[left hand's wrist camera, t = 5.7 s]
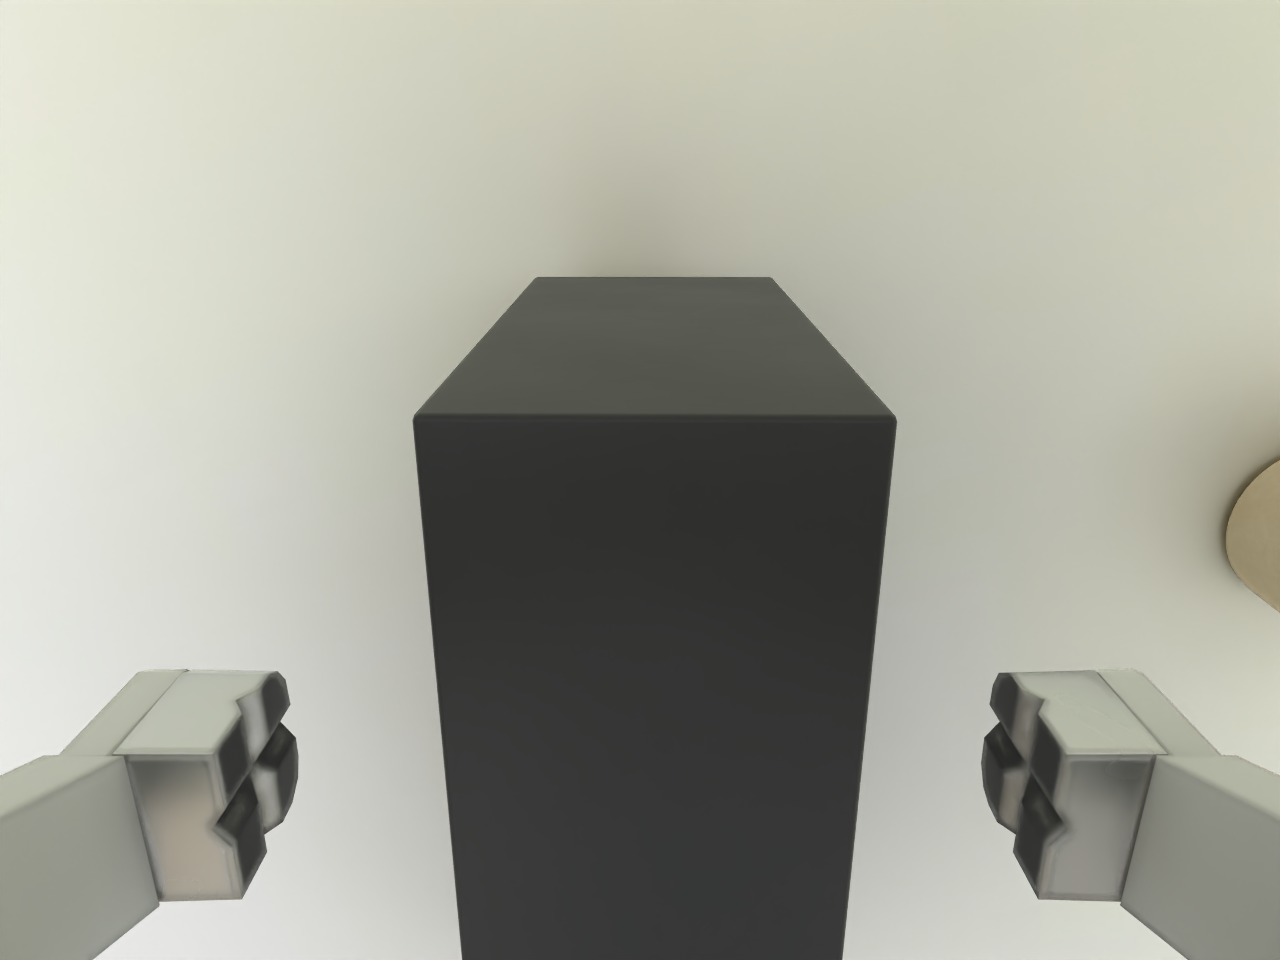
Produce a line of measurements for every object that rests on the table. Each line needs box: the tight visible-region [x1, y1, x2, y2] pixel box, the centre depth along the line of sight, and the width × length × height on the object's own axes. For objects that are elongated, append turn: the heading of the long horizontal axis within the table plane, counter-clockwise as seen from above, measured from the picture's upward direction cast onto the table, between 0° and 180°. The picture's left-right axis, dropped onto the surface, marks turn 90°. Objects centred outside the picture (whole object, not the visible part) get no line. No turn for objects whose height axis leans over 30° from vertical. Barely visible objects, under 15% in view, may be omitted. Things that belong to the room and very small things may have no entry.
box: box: [413, 277, 897, 960], centre depth 21 cm, size 28×6×12 cm, turn 0°
